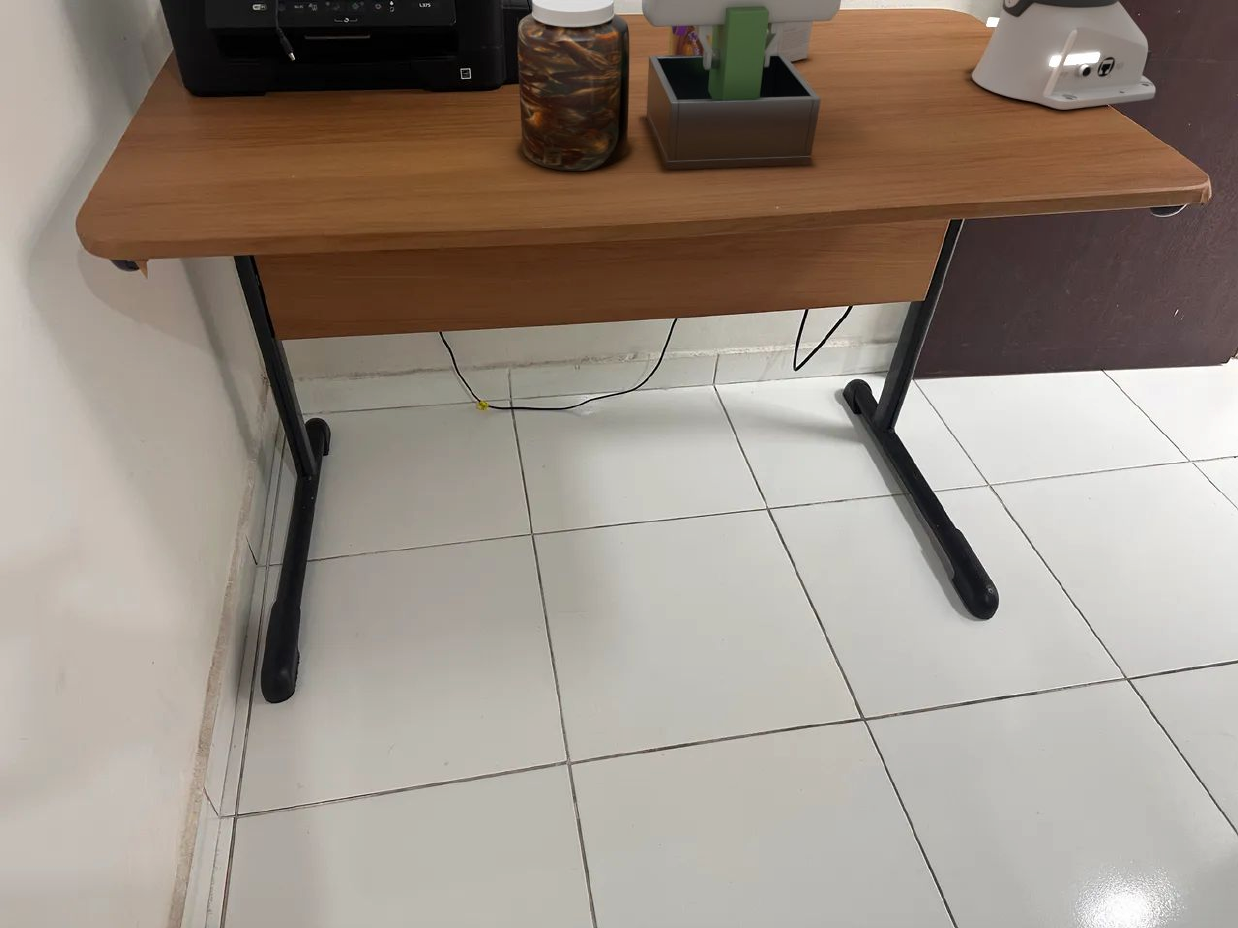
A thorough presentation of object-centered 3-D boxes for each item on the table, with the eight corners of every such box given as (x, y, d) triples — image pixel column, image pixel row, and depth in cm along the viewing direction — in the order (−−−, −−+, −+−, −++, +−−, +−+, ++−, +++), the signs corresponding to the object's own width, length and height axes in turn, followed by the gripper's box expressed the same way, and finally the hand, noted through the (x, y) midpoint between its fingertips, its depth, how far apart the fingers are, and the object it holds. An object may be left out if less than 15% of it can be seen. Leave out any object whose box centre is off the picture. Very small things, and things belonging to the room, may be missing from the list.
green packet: (742, 89, 98) (752, -8, 91) (757, 113, 93) (769, 11, 86) (707, 91, 97) (715, -7, 91) (721, 114, 92) (730, 12, 85)
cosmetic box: (786, 51, 122) (800, -47, 114) (808, 60, 119) (824, -40, 111) (753, 58, 119) (765, -41, 111) (775, 68, 116) (789, -34, 108)
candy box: (736, 88, 110) (750, -48, 100) (712, 95, 108) (724, -43, 98) (688, 69, 115) (698, -63, 105) (664, 75, 113) (671, -58, 103)
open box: (774, 114, 104) (783, 52, 99) (809, 165, 93) (821, 98, 89) (646, 118, 102) (648, 55, 98) (667, 170, 92) (671, 103, 87)
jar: (646, 161, 93) (653, 9, 83) (545, 179, 89) (539, 22, 79) (601, 122, 101) (602, -21, 91) (506, 137, 97) (496, -11, 87)
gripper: (843, -93, 86) (820, 53, 96) (640, -88, 84) (637, 60, 94) (864, -79, 82) (838, 73, 91) (650, -74, 80) (646, 81, 89)
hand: (735, 67), depth 92 cm, fingers closed on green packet, 4 cm apart
